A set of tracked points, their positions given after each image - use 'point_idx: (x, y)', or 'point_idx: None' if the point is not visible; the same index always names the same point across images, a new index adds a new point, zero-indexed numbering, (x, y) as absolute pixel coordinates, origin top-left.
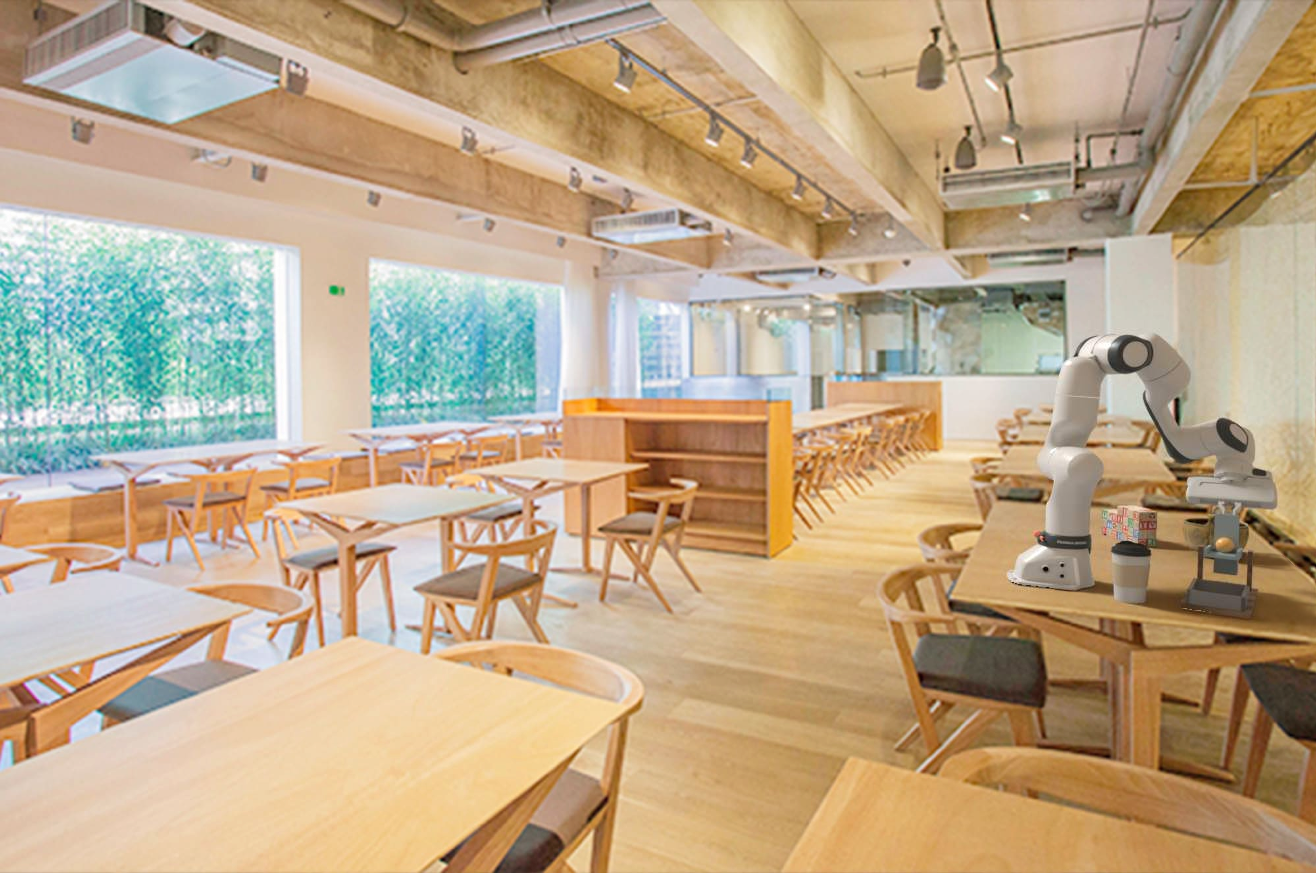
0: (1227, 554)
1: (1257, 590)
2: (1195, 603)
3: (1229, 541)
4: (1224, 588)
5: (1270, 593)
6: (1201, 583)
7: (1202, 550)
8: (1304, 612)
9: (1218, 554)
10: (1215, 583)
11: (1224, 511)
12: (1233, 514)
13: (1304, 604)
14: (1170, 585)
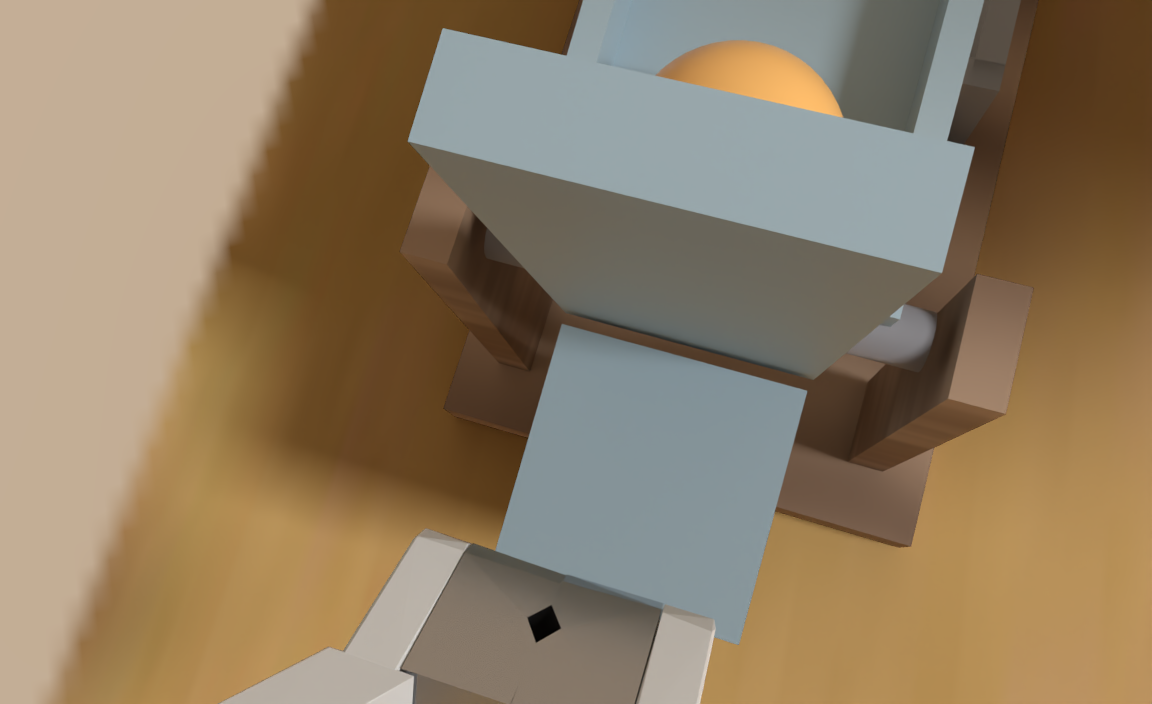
0: (734, 14)
1: (460, 358)
2: None
3: (695, 53)
4: None
5: (347, 496)
6: None
7: (964, 292)
8: (306, 32)
9: None
10: None
11: (641, 675)
12: (452, 540)
13: (228, 241)
14: (1092, 495)
